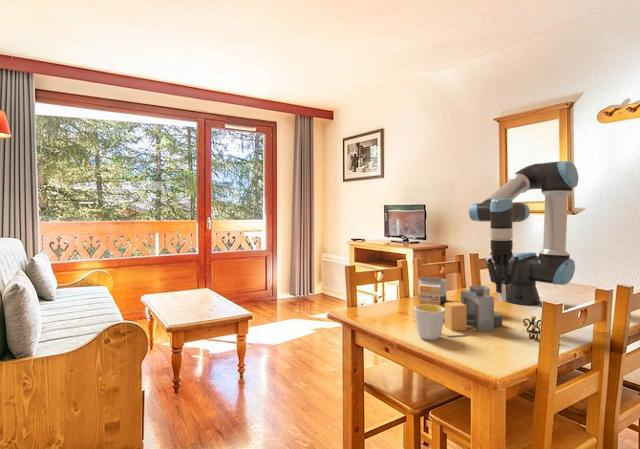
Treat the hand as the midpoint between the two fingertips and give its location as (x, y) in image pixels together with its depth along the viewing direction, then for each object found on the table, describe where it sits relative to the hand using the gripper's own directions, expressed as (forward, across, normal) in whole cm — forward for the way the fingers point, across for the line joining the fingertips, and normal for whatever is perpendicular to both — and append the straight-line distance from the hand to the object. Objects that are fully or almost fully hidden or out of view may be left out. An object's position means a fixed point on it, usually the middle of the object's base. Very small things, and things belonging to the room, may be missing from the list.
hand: (501, 300), depth 145 cm
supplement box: (+9, +22, -16) cm, 28 cm away
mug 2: (+10, -2, -18) cm, 20 cm away
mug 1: (+8, +33, +7) cm, 34 cm away
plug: (+9, +12, 0) cm, 15 cm away
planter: (+10, +9, -40) cm, 42 cm away
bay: (+8, +23, 0) cm, 25 cm away
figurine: (+9, 0, +17) cm, 19 cm away
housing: (+9, +11, 0) cm, 14 cm away
